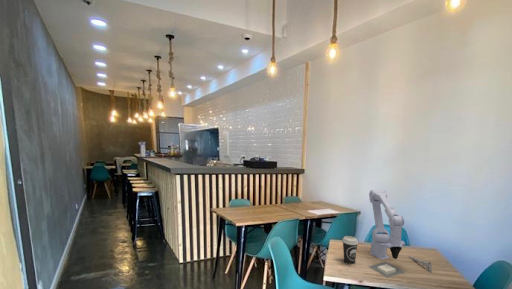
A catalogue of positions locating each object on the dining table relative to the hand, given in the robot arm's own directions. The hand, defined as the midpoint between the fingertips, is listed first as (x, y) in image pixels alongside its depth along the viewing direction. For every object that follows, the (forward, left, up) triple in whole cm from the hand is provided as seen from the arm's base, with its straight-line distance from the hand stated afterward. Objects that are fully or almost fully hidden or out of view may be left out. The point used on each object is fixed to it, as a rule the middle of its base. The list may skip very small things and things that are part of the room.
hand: (394, 258), depth 146 cm
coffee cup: (-17, -19, -7) cm, 26 cm away
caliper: (+2, +21, -7) cm, 22 cm away
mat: (-1, -5, -7) cm, 9 cm away
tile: (0, -3, -5) cm, 6 cm away
